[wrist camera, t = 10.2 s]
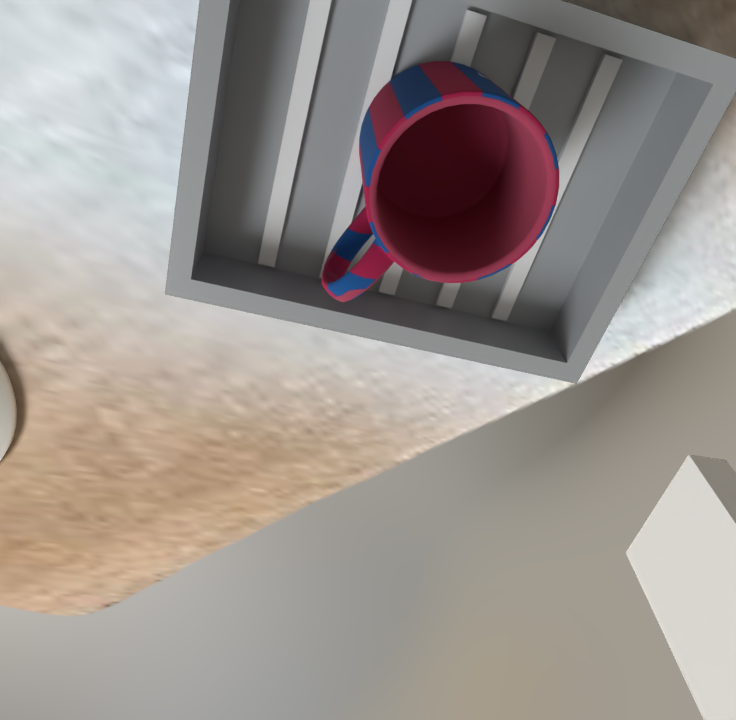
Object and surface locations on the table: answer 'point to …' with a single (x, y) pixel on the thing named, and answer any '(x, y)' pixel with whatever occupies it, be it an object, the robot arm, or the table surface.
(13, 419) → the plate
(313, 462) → the table surface
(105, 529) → the table surface
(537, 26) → the rack
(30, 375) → the table surface
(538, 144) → the mug
